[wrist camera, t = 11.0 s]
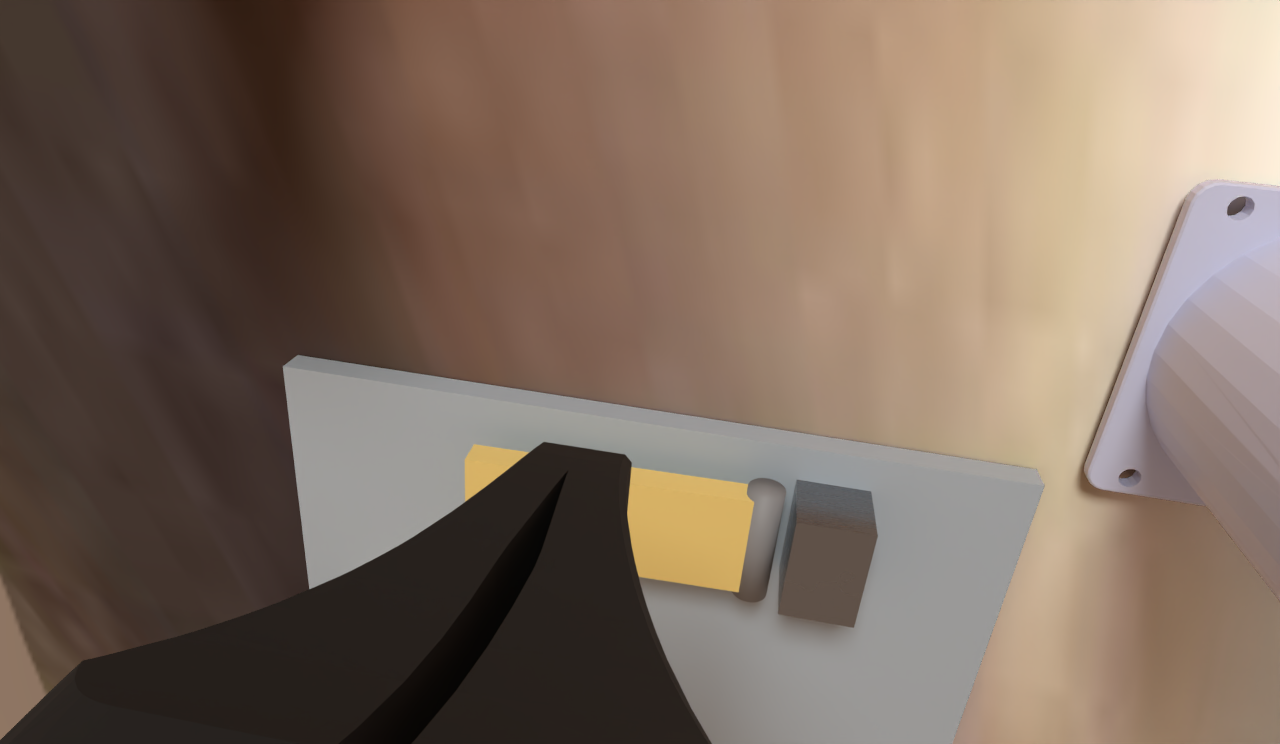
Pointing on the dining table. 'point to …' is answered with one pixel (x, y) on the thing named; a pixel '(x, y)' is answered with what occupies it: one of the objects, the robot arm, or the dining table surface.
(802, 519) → the block
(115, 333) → the dining table surface
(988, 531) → the board
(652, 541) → the tab
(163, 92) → the dining table surface
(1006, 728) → the dining table surface
